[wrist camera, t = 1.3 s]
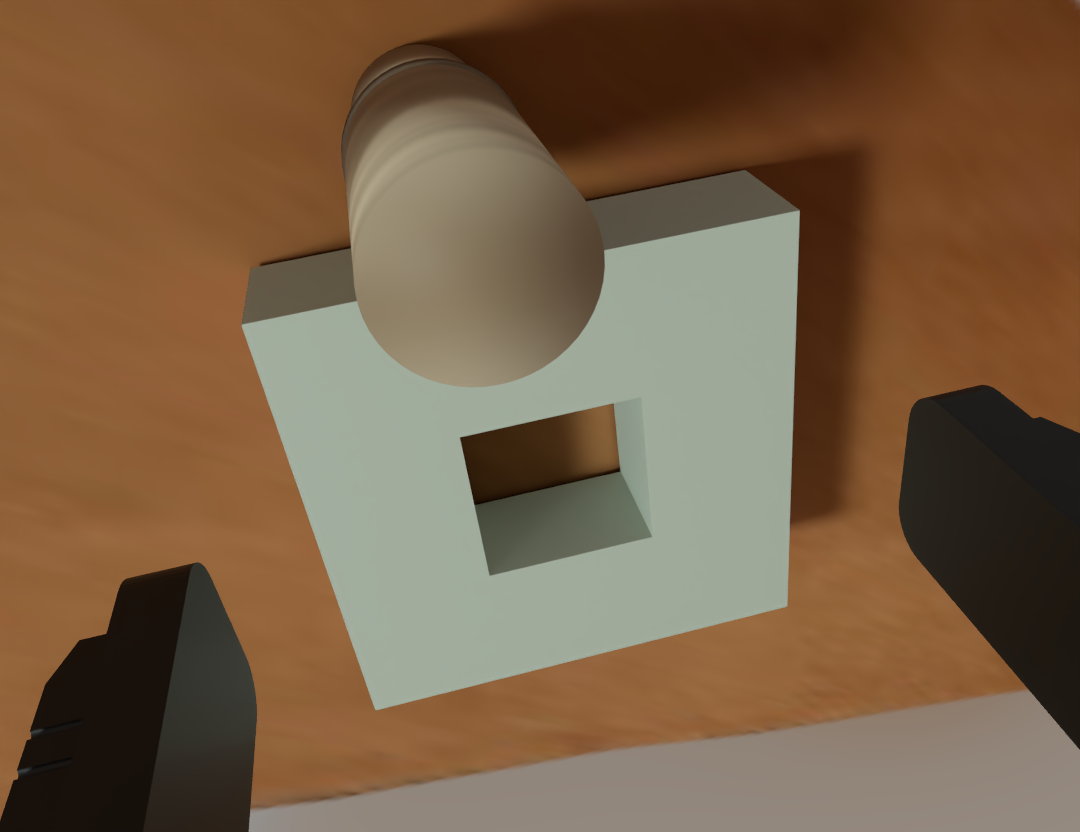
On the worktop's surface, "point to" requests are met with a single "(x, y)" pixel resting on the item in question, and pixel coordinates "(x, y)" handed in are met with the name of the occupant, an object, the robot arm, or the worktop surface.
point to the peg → (462, 225)
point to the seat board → (567, 510)
